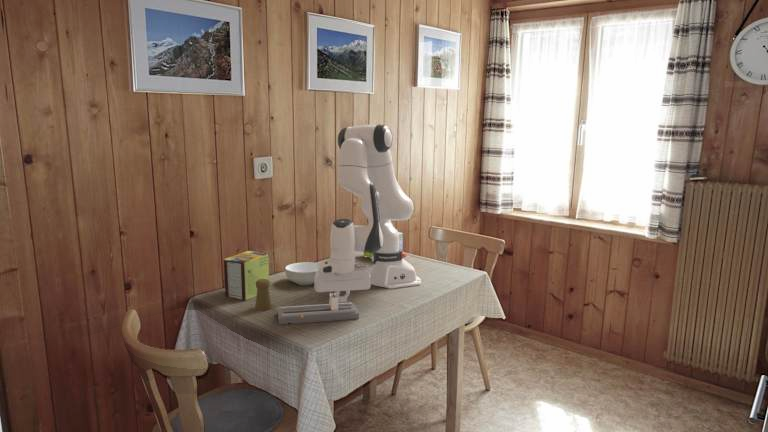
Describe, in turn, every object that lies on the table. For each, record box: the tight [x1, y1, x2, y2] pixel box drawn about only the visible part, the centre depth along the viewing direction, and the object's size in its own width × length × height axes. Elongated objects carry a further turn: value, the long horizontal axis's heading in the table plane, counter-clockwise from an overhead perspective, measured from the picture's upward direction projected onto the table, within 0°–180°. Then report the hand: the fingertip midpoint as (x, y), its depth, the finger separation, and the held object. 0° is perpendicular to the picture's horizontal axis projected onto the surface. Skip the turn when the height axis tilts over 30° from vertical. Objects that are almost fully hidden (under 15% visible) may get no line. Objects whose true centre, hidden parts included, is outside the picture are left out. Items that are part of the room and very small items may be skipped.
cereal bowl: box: [284, 261, 319, 286], centre depth 232 cm, size 17×17×7 cm
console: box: [277, 301, 360, 325], centre depth 194 cm, size 28×11×3 cm, turn 103°
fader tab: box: [329, 292, 339, 311], centre depth 195 cm, size 2×5×5 cm, turn 13°
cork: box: [254, 279, 273, 312], centre depth 200 cm, size 6×6×11 cm
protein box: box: [223, 250, 270, 301], centre depth 216 cm, size 10×15×16 cm
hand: (342, 301), depth 195 cm, fingers closed
